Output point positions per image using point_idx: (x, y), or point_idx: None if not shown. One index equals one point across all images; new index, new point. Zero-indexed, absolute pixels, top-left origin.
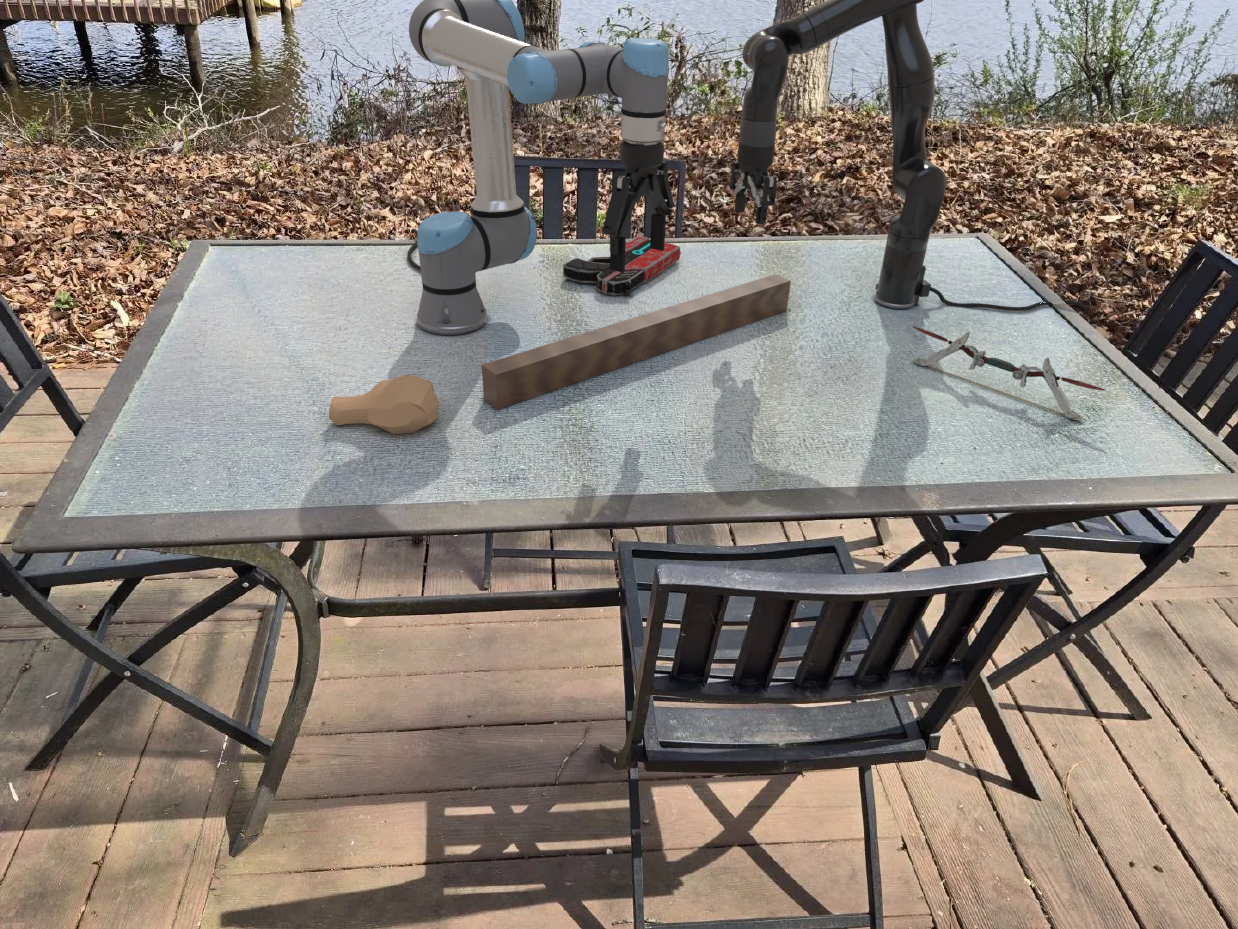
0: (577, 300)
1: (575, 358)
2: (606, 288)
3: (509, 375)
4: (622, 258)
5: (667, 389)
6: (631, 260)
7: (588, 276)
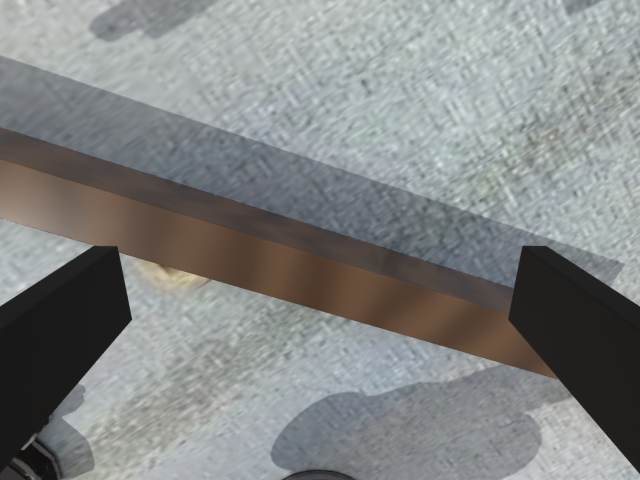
0: (110, 423)
1: (398, 271)
2: None
3: None
4: (604, 285)
5: (302, 82)
6: None
7: (32, 458)
